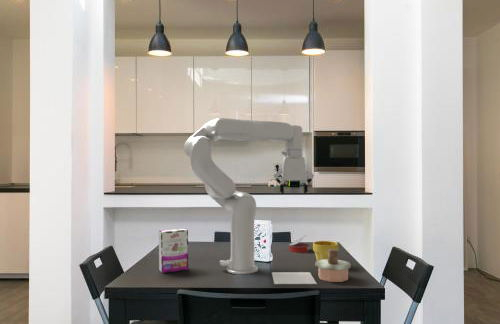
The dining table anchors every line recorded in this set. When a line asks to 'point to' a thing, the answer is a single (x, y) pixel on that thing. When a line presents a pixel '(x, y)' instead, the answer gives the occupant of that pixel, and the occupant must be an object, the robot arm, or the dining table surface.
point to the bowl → (333, 275)
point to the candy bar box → (173, 250)
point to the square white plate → (293, 278)
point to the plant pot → (323, 249)
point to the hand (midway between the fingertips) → (293, 193)
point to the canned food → (298, 246)
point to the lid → (332, 262)
